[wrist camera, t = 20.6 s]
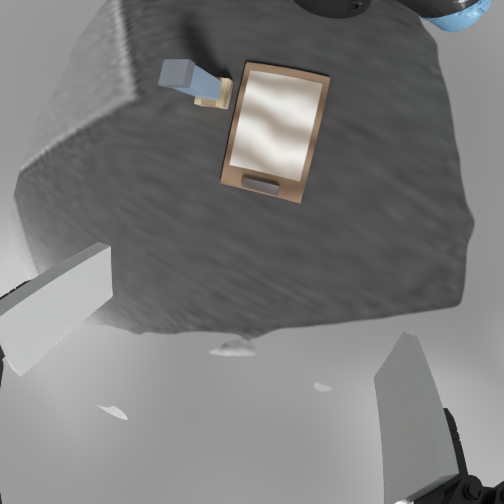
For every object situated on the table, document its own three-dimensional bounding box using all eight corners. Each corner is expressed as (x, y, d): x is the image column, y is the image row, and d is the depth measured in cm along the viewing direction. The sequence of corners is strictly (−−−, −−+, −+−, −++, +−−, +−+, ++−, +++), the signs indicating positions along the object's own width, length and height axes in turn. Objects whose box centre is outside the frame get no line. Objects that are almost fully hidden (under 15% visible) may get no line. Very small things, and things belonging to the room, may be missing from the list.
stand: (206, 79, 40) (200, 76, 38) (233, 82, 40) (228, 78, 37) (201, 105, 42) (194, 103, 40) (227, 109, 42) (222, 106, 39)
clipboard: (247, 63, 38) (245, 60, 37) (330, 78, 36) (330, 76, 35) (221, 182, 47) (218, 183, 45) (300, 202, 45) (300, 204, 44)
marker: (206, 81, 39) (164, 59, 26) (226, 83, 39) (188, 59, 25) (202, 100, 40) (158, 84, 27) (221, 102, 40) (182, 85, 27)
